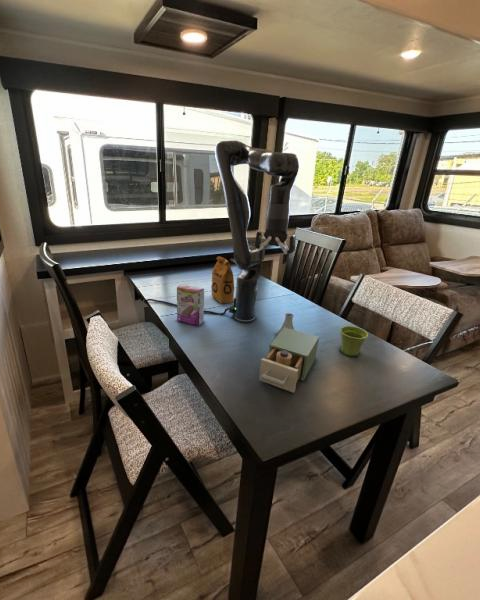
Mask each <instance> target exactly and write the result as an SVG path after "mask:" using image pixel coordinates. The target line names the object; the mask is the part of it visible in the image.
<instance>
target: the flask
mask: <svg viewBox="0 0 480 600" xmlns="http://www.w3.org/2000/svg"><path fill="white" fill-rule="evenodd" d="M284 317H285V318H284V321H283V323H282V325H281V327H280V329H279V330H278V332H277V334H276V336H278V334H279V333H280V332H281V331H282V330H283V328H284V327H285V328H289V329H292V330H295V328H294V323H293V318H294V317H295V315H294V314H293V313H290V312H286V313H285V314H284Z"/></svg>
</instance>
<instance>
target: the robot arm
mask: <svg viewBox="0 0 480 600" xmlns="http://www.w3.org/2000/svg"><path fill="white" fill-rule="evenodd" d="M214 156H215V161H216V165H217V169H218V174H219V177H220V180H221V185H222V189H223V194H224V200H225V206H226V207H225V208H226V211H227V216H228V221H229V227H230V233H231V239H232V241H231V242H232V252H233V253H232V254H233V260H234V263H235V265H236V267H237V268H238V269H239V270H241V271H240V272H239V273H238V275H237V276H236V286H235V296H234V297H233V304H232V305H231V306H230V307H227V308H225V309H224V311H223V312H215V311H212V310H204V313H207V314H212V315H219V316H223V315H226V313H227V311H228V313H229V314H232V318H233V319H235V320H236V321H238V322H242V323H250V322H253V321H255V319H256V309H257V308H256V305H257V296H258V295H257V294H258V284H259V279H260V277H261V272H262V265H263V261H264V260H265V254H266V247H267V246H268V245H269V246H270V247H271V246H274V247H279V248H280V249H281V250H282V252H283V255H282V263H281V264H282V265H286V264H287V263H288V261H289V256H290V254H293V253H295V250H296V239H297V237H296V236H297V235H295V234H292V235H288V229H289V219H290V210H291V209H290V206H291V205H290V203H291V196H292V195H291V194H292V190H293V187H294V185H295V182H296V179H297V176H298V174H299V170H300V159H299V157H298V156H297V154H296V153H293V152H276V151H273V150H270V149H265V148H259V147H254V146H253V147H252V146H249V145H247V144H246V143H244V142H242V141H239V140H221V141H217V143H216V145H215V148H214ZM238 165H248V166H249V167H250V169H253V170H255V171H259V172H263V173H265V174H266V175H268V176H272V177H280V179H279V181H278V182H277V183H275V184H272V185H271V186H270V188H269V195H268V204H267V208H266V209H267V211H266V221H265V230H264V231H262V230H258V231H256V235H255V242H254V245H249V243H248V237H247V236H248V235H247V233H248V227H249V224H250V219H251V207H250V202H249V197H248V194H247V193H246V192H245V190H244V188H243V187H242V186H241V185H240V184H239V182H238V181H237V180H236V178H235V175H234V173H233V170H232V167H236V166H238ZM263 237H264V239H265V240H264V241H263V242H262V238H263ZM286 241H288V242H289V246H288V244H287V242H286ZM149 301H150V302H156V303H162V304H166V305H170V306H174V307H177V303H172V302H169V301H165V300H158V299H154V298H147V299H145V300H144V301H143V302H144V303H147V302H149Z"/></svg>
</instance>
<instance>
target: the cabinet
mask: <svg viewBox="0 0 480 600" xmlns="http://www.w3.org/2000/svg"><path fill="white" fill-rule="evenodd" d="M277 334H278V333H277ZM319 339H320V336H318V335H315V334H310V333H307V332H303V331H301V330H297V329H296V330H295V329H294V330H292V329H289V328H285V327H284V328H283V330H282V331H281V332H280V333H279V334H278V335H276V336H275V338H274V339H273V340H272V341H271V343H270V344H269V349H268V354H269V353H270V352H271V351H272V349H273V348H276V349H279V350H286V351H288V352H289V353H292V354H295V355H298V356H302V357H305V360H304V366H303V371H302V374H301V376H300V377H299V379H298V381H302V382H304V381H305V379H306V377H307V375H308V374H309V372H310V371H311V368H312V366H313V364H314V363H315V361H316V356H317V350H318V346H319Z"/></svg>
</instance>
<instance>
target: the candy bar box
mask: <svg viewBox="0 0 480 600" xmlns="http://www.w3.org/2000/svg"><path fill="white" fill-rule="evenodd" d="M176 305H177V306H176V318H177V322H180V323H185V324H188V325H192V326H197V327H200V326H202V324H203V323H204V321H205V317H204V315H205V314H204V313H205V312H204V311H205V288H204V287H199V286H194V285H189V284H185V283H181V284H180V285H177V287H176Z"/></svg>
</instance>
